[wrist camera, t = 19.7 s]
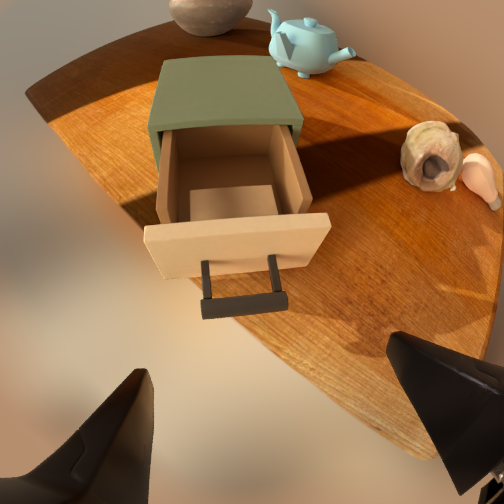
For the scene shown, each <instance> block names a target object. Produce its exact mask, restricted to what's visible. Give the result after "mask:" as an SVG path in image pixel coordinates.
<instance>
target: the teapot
mask: <svg viewBox="0 0 504 504" xmlns="http://www.w3.org/2000/svg"><path fill="white" fill-rule="evenodd" d="M267 10H268V11H269V12H270V13H271V16H272V25H271V36H272V39H271V42H270V45H269V52H270V54H271V56H272V57H273V58H274V60H276V61H277V62H276V64H277V65H278V67H286V66H287V67H289V68H291V69H294V70H297V71H298V76H299V77H301V78H310V74H320V73H325V72H327V71H329V70H330V69H332V68H333V67H334V66H335V65H336V64H337V63H338V62H341V61H344V60H347V59H350V58H353V57H355V56H356V53H355V51H354V50H353V48H351V47H347V48H345V49H342V50H340V51H339V49H338V43H337V38H336V35H335V32H334V31H332V30H330V29H329V28H328V27H326V26H323V25H319V24H317V23H318V21H317V20H315V19H313V18H304V20H287V21H284V22H283V23H282V24H281V23H280V17H279V15H278V13H277V12H275V11H274V10H271V9H267Z"/></svg>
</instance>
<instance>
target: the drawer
mask: <svg viewBox="0 0 504 504" xmlns="http://www.w3.org/2000/svg"><path fill="white" fill-rule="evenodd" d="M259 185H272V189H273V194H274V198H275V202H276V207H277V211H278V215H272V216H256V217H242V218H229V219H216V220H204V221H192V222H190V190H200V189H212V188H225V187H241V186H259ZM312 200H313V198H312V195H311V192H310V189H309V186H308V183H307V180H306V177H305V174H304V171H303V168H302V165H301V162H300V159H299V156H298V153H297V150H296V148H295V145H294V142H293V139H292V137H291V134H290V131H289V129H288V126H287V125H271V124H260V125H224V126H207V127H194V128H183V129H173V130H165V131H164V134H163V141H162V149H161V158H160V168H159V178H158V190H157V204H156V211H157V214H158V216H159V219H160V222H161V225H151V226H145V228H144V243H145V245H146V247H147V248H148V250H149V252H150V254H151V256H152V258H153V260H154V261H155V263H156V265H157V267H158V269H159V270H160V272H161V274H162V276H163V278H164V279H165V280H166V279H178V278H190V277H202V288H203V299H202V300H201V313H202V318H203V319H214V318H225V317H235V316H244V315H253V314H262V313H270V312H278V311H285V310H288V297H287V294H286V292H285V291H282V287H281V281H280V276H279V271H278V269H286V268H296V267H305V266H307V265H308V263H309V262H310V260H311V259H312V257H313V256H314V254H315V253H316V251H317V249H318V248H319V246H320V245H321V243H322V242H323V240H324V238H325V237H326V235H327V234H328V232H329V230H330V229H331V227H332V226H331V222H330V219H329V216H328V213H308V214H306V213H307V211H308V209H309V206H310V204H311V202H312ZM266 270H269V273H270V279H271V285H272V290H273V292H272V293H263V294H254V295H245V296H235V297H224V298H214V299H212V292H211V281H210V276H213V275H224V274H235V273H246V272H256V271H266Z"/></svg>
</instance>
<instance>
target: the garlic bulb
mask: <svg viewBox="0 0 504 504" xmlns="http://www.w3.org/2000/svg"><path fill="white" fill-rule="evenodd" d="M458 137H459V135H458V134H457V133H453V132H451V131H450V129H449V128H448V126H447V125H446V124H445V123H443V122H440V121H426V122H422V123H420V124H418V125H415V126H414V127H413V128H411V129H410V130H409V131H408V133H407V138H406V141H405V142H404V144H403V145H402V148H401V160H400V163H401V166H402V169H403V175H404V178H405V179H406V180H407V181H408V182H409V183H410V184H411V185H414V186H416V187H418V188H419V189H421V190H422V191H424V192H427V191H433V192H434V191H438V192H442V191H443V190H445V189H448V188H449V187H450V191H455V190H456V185H455V182H456V180H457V178H458V176H459V174H460V172H461V170H462V166H463V155H462V151H461V148H460V145H459V138H458Z"/></svg>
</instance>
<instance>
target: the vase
mask: <svg viewBox="0 0 504 504" xmlns="http://www.w3.org/2000/svg"><path fill="white" fill-rule="evenodd" d="M252 3H253V1H252V0H170V3H169V11H170V14H171V16H172V17H173V19H174V20H175V22H176V23H177V24H178V25H179V26H180V27H181V28H182V29H184V30H185V31H187V32H188V33H190V34H193V35H196V36H215V35H221V34H224V33H226V32H227V31H229V30H231V29H232V28H234V27H235V26H236V25H237V24H238V23H239V22H241V21H242V20H243V19H244V17H245V16H246V15H247V13H248V12H249V10H250V9H251V7H252Z"/></svg>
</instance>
